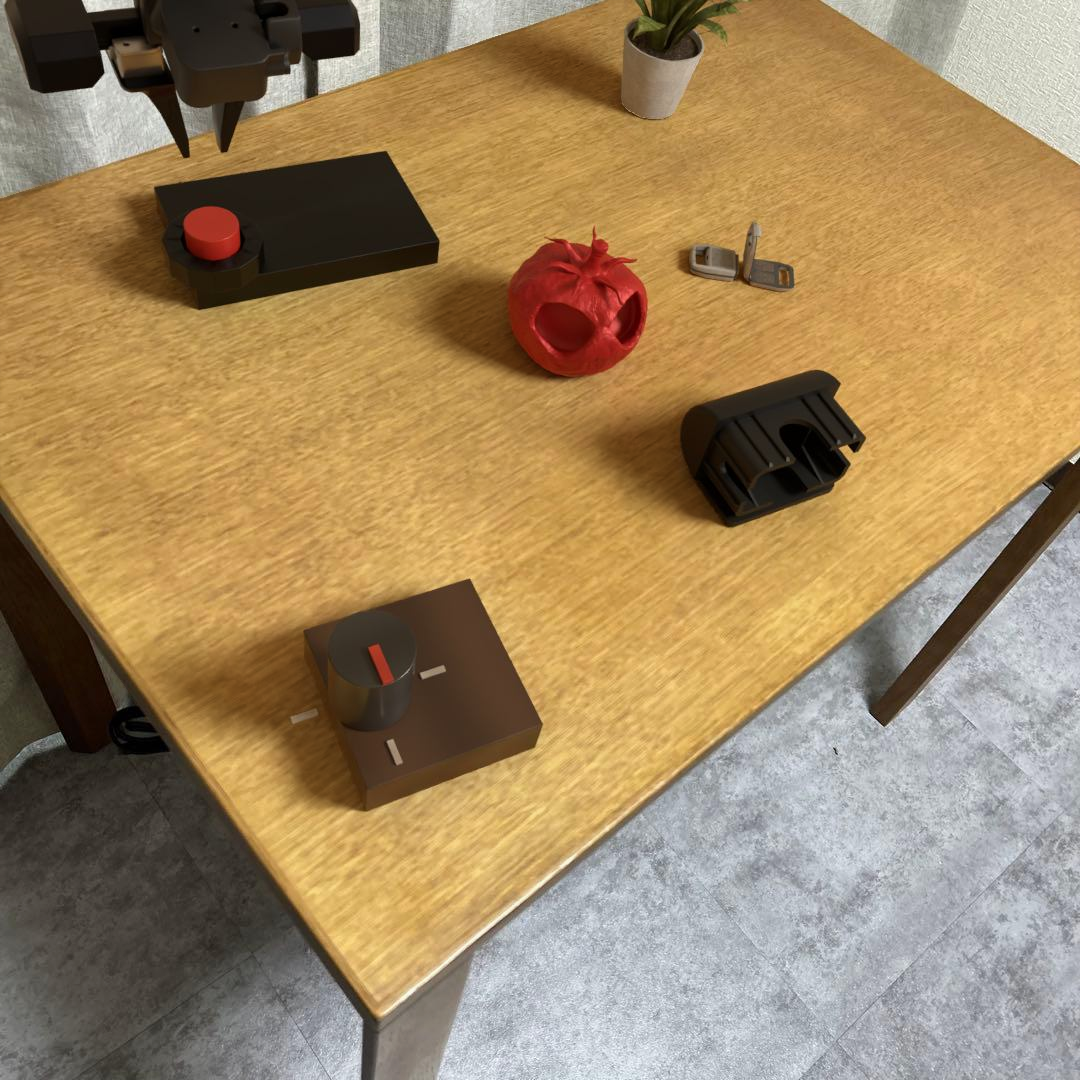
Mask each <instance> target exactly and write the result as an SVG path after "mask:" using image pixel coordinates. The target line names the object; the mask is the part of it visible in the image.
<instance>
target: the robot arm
mask: <svg viewBox="0 0 1080 1080" xmlns="http://www.w3.org/2000/svg"><path fill="white" fill-rule="evenodd" d="M132 2H133V7H123V8H111V9H104V10H98V11H88V10H87V8H86V6H85V4H84V1H83V0H6V1H5V2H4V4H3V7H4V13H5V17H6V20H7V24H8V28H9V33H10V36H11V39H12V42H13V46H14V47H15V50H16V54H17V57H18V59H19V63H20V65H21V67H22V71H23V73H24V76H25V78H26V81H27V84H28V87H29V89H30V90H32V91H34V92H38V93H40V94H43V95H44V94H52V93H54V94H55V93H61V92H62V93H63V92H71V91H78V90H85V89H93V88H94V87H95V86H96V85H97V84H98V82H99V81H100V80H101V79H102V78H103V76H104V75H105V74H106V72H105V71H106V70H105V66H104V61H103V55H102V51H104V52H105V54H106V56H107V58H108V60H109V63H110V65H111V68H112V71H113V73H114V75H115V77H116V79H117V82H118V84H119V86H120V88H121V89H122V90H124V91H125V92H127V93H130V94H134V93H135V94H136V93H143V94H144V95H145V96H146V97H147V98H148V99H149V100H150V102H151V103H152V104H153V106H154V107H155V108H156V110H157V111H158V113H159V114H160V116H161V118H162V120H163V121H164V123H165V125H166V127H167V129H168V132H169V133H170V135H171V137H172V139H173V141H174V142H175V144H176V146H177V149H178V150H179V153H180V154H181V156H182V158H183V159H190V158H191V153H190V151H191V150H190V140H189V136H188V131H187V129H186V124H185V120H184V117H183V113H182V109H181V105H180V102H179V101H180V100H181V102H182V103H184V104H185V105H186V106H188V107H191V108H194V109H207V108H211V116H212V117H211V118H212V125H213V130H214V135H215V143H216V146H217V147H218V150H219V152H220V153H221V154H223V153H224V154H225V153H228V152H229V149H230V145H231V143H232V140H233V138H234V135H235V132H236V129H237V126H238V123H239V120H240V117H241V114H242V112H243V109H244V106H245V103H251V102H256V101H259V100H261V99H262V98H264V97H265V96H266V94H267V90H268V80H269V78H271V77H280V76H284V75H285V76H287V75H291V73H292V68H291V67H292V66H294V65H299V64H300V63H301V61H302V55H303V54H304V55H305V56H306V57H307V58H309V59H310V60H311V61H313V62H314V61H315V62H316V61H322V60H323V61H324V60H332V59H339V58H348V57H354V56H356V54H358V52H359V51H360V50H361V22H360V16H359V12H358V9H357V7H356V6H355V3H354V2H353V1H352V0H132ZM179 99H180V100H179Z"/></svg>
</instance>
